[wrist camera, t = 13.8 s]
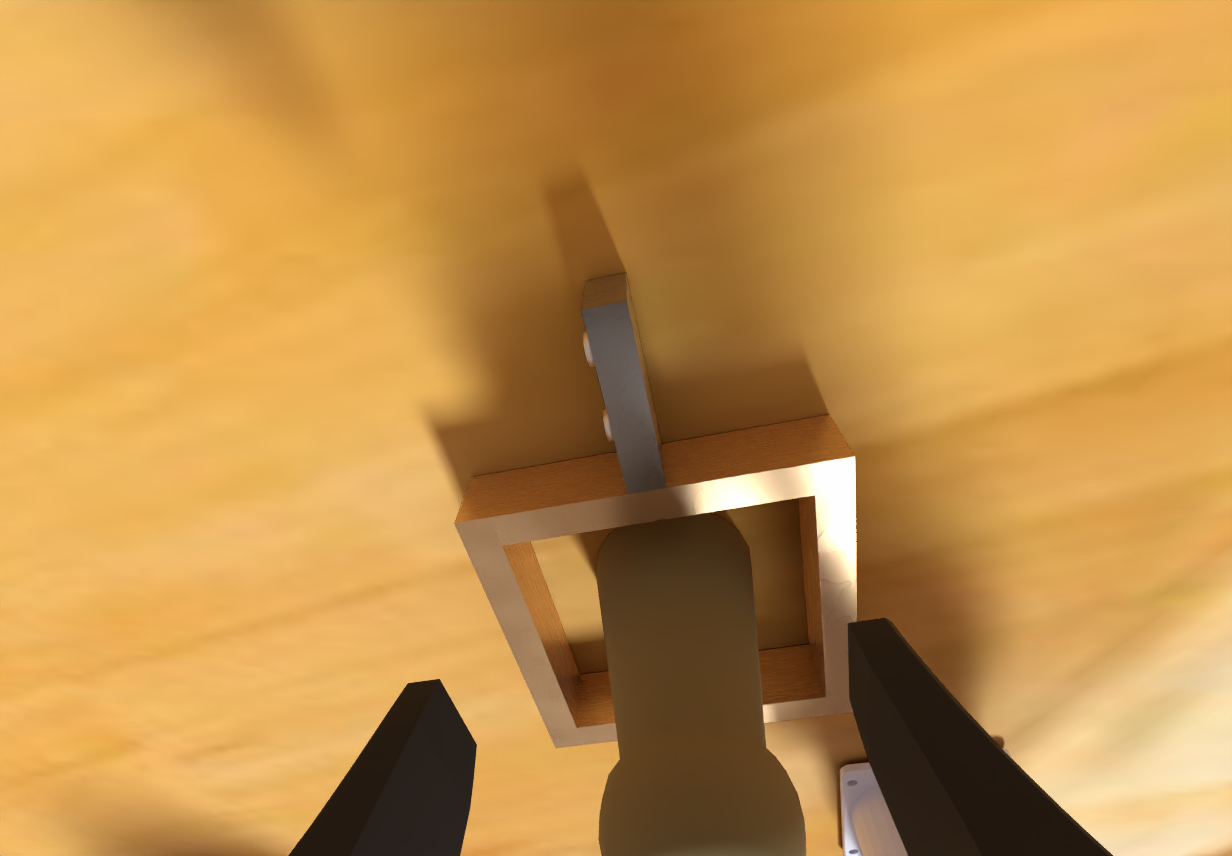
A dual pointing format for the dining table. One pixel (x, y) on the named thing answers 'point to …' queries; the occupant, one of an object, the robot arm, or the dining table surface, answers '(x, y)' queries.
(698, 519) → the cork
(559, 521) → the square frame
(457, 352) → the dining table surface
